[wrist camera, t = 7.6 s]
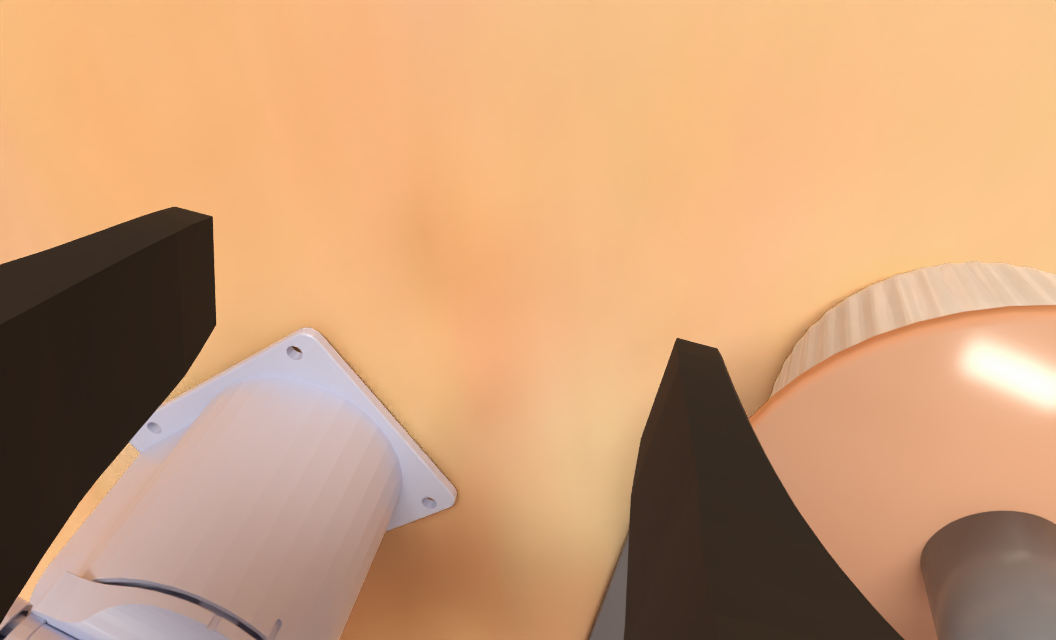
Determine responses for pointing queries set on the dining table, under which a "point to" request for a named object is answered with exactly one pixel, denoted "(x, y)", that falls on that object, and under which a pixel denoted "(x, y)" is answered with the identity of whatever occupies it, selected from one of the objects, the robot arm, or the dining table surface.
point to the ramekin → (916, 306)
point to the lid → (933, 470)
